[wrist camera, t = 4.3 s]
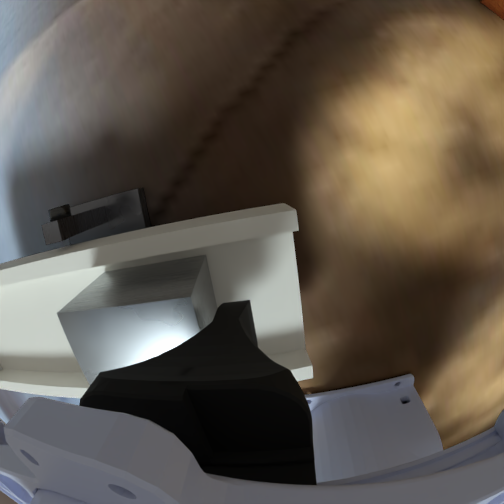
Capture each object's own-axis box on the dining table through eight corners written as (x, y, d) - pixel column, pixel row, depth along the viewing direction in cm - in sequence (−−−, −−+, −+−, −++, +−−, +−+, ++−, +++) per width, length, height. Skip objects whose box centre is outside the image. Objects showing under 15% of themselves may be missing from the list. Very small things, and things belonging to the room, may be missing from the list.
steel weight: (205, 254, 13) (190, 296, 8) (227, 350, 14) (225, 415, 10) (104, 271, 13) (56, 313, 8) (135, 359, 14) (108, 418, 10)
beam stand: (142, 186, 16) (92, 195, 11) (188, 361, 19) (166, 416, 14) (69, 206, 17) (13, 222, 12) (118, 361, 20) (87, 406, 15)
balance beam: (284, 202, 13) (296, 209, 11) (301, 348, 16) (313, 377, 13) (-30, 272, 13) (-53, 285, 11) (9, 368, 15) (-8, 387, 13)
